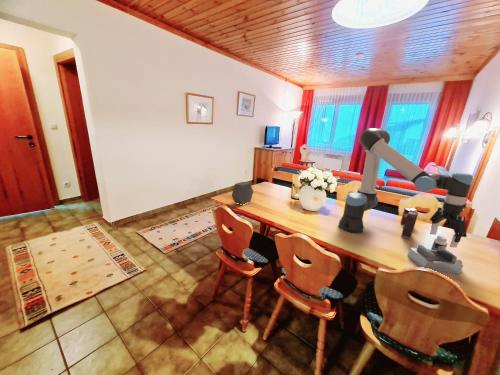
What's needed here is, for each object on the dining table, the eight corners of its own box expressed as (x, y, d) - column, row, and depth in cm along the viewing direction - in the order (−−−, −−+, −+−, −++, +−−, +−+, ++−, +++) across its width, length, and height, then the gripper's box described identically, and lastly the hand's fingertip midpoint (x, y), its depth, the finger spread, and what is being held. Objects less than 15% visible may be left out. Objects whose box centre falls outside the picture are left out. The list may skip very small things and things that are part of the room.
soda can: (414, 227, 144) (419, 211, 141) (403, 226, 145) (407, 210, 142) (409, 223, 151) (413, 208, 147) (398, 221, 152) (402, 206, 149)
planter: (248, 193, 184) (240, 176, 170) (255, 195, 180) (248, 178, 166) (237, 207, 176) (229, 191, 162) (244, 210, 171) (236, 193, 158)
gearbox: (423, 270, 98) (428, 256, 96) (407, 255, 109) (411, 242, 107) (468, 275, 96) (474, 260, 94) (447, 259, 108) (452, 246, 106)
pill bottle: (427, 250, 116) (433, 234, 113) (436, 250, 116) (441, 234, 114) (437, 255, 111) (442, 239, 108) (446, 255, 111) (451, 239, 109)
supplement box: (410, 239, 127) (417, 215, 123) (400, 236, 130) (407, 213, 126) (411, 234, 133) (418, 212, 129) (402, 232, 136) (409, 209, 132)
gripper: (486, 212, 93) (471, 253, 99) (442, 196, 117) (432, 230, 123) (468, 211, 94) (454, 252, 99) (428, 195, 118) (418, 229, 123)
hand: (442, 240), depth 111 cm, fingers open, 13 cm apart
